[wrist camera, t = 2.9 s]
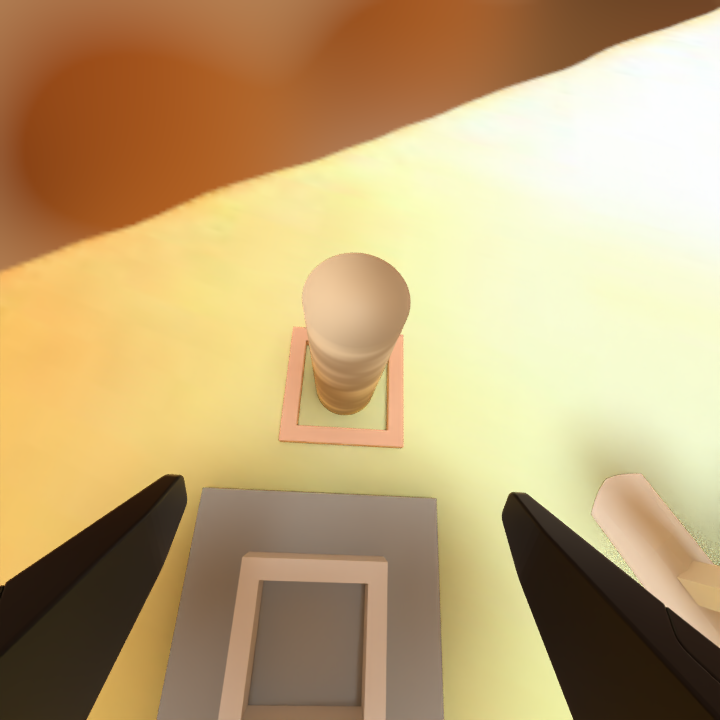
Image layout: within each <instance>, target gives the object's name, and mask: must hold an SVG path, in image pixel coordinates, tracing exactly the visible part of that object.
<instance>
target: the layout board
mask: <svg viewBox="0 0 720 720" xmlns="http://www.w3.org/2000/svg"><path fill="white" fill-rule="evenodd" d="M157 720H444V708H443V679H442V650H441V620H440V591H439V561H438V532H437V502H436V498H422V497H401V496H379V495H358V494H336V493H315V492H293V491H272V490H251V489H229V488H203V489H202V494H201V499H200V504H199V509H198V514H197V519H196V524H195V529H194V534H193V539H192V544H191V549H190V554H189V559H188V564H187V569H186V574H185V579H184V585H183V590H182V595H181V600H180V605H179V610H178V615H177V620H176V625H175V630H174V635H173V640H172V645H171V650H170V655H169V660H168V665H167V670H166V675H165V680H164V685H163V690H162V695H161V700H160V705H159V710H158V715H157Z"/></svg>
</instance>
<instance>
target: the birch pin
mask: <svg viewBox="0 0 720 720" xmlns="http://www.w3.org/2000/svg"><path fill="white" fill-rule="evenodd" d="M302 304H303V311H304V317H305V323H306V329H307V335H308V341H309V347H310V353H311V359H312V365H313V371H314V377H315V383H316V390H317V394H318V397H319V400H320V401H321V403H322V404H323V406H324V407H326V408H327V409H328V410H329V411H331V412H333V413H336V414H339V415H351V414H354V413H357V412H359V411H361V410H362V409H363V408H364V407H365V406H366V405H367V404H368V403H369V401H370V399H371V397H372V395H373V393H374V391H375V388H376V386H377V384H378V382H379V380H380V377H381V375H382V373H383V371H384V369H385V366H386V364H387V362H388V360H389V357H390V355H391V353H392V351H393V349H394V346H395V344H396V342H397V340H398V338H399V335H400V333H401V331H402V329H403V326H404V324H405V322H406V320H407V317H408V315H409V310H410V294H409V290H408V287H407V284H406V282H405V281H404V279H403V277H402V276H401V275H400V273H399V272H398V271H397V270H396V269H395V268H394V267H393V266H391V265H390V264H389V263H387V262H386V261H384V260H382V259H380V258H378V257H375V256H372V255H368V254H363V253H344V254H339V255H336V256H333V257H331V258H328V259H326V260H325V261H323V262H321V263H320V264H319V265H318V266H316V267H315V268H314V269H313V270H312V272H311V273H310V274H309V276H308V278H307V280H306V282H305V284H304V287H303V292H302Z"/></svg>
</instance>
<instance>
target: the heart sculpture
mask: <svg viewBox="0 0 720 720" xmlns="http://www.w3.org/2000/svg"><path fill="white" fill-rule="evenodd" d="M591 515H592V516H593V518H594V519H595V520H596V522H597V523H598V524H599V526H600V527H601V529H602V530H603V531H604V533H605V534H606V535H607V537H608V538H609V540H610V541H611V542H612V544H613V545H614V546H615V548H616V549H617V551H618V552H619V553H620V555H621V556H622V557H623V559H624V560H625V561H626V563H627V564H628V566H629V567H630V568H631V570H632V571H633V572H634V574H635V575H636V577H637V578H638V579H639V581H640V582H641V583H642V585H643V586H644V588H645V589H646V590H647V591H649V592H650V593H651V594H652V595H654V596H655V597H656V598H657V599H659V600H660V601H661V602H662V603H664V605H665V607H669V608H670V609H671V610H672V611H674V612H675V613H676V614H677V615H679V616H680V617H681V618H682V619H684V620H685V621H686V622H687V623H689V624H690V625H691V626H692V627H694V628H695V629H696V630H698V631H699V632H700V633H701V634H703V635H704V636H705V637H707V638H708V639H709V640H710V641H712V642H713V643H714V644H715V645H717V646H718V647H719V648H720V566H717V565H714V564H713V562H712V561H711V560H710V559H709V557H708V556H707V555H706V554H705V552H704V551H703V550H702V549H701V547H700V546H699V545H698V544H697V542H696V541H695V540H694V539H693V537H692V536H691V535H690V534H689V532H688V531H687V530H686V529H685V527H684V526H683V525H682V524H681V522H680V521H679V520H678V519H677V517H676V516H675V515H674V514H673V512H672V511H671V510H670V509H669V507H668V506H667V505H666V504H665V502H664V501H663V500H662V499H661V497H660V496H659V495H658V494H657V492H656V491H655V490H654V489H653V487H652V486H651V485H650V484H649V482H648V481H647V480H646V479H645V477H644V476H643V475H642V474H641V473H636V474H621V475H615V476H613V477H610V478H607V479H606V480H605V481H604V483H603V484H602V486H601V487H600V489H599V491H598V494H597V496H596V499H595V502H594V505H593V509H592V513H591Z"/></svg>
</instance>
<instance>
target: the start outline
mask: <svg viewBox="0 0 720 720" xmlns="http://www.w3.org/2000/svg"><path fill="white" fill-rule="evenodd" d="M307 345H309V341H308V335H307V329H306V327H293V333H292V341H291V348H290V356H289V364H288V372H287V379H286V387H285V395H284V402H283V410H282V418H281V426H280V433H279V441H280V442H298V443H316V444H335V445H353V446H371V447H389V448H402V447H403V335H399V338H398V340H397V342H396V344H395V346H394V349H393V351H392V353H391V355H390V357H389V360H388V370H387V430H372V429H355V428H338V427H321V426H304V425H298V418H299V409H300V400H301V391H302V382H303V373H304V364H305V355H306V346H307Z"/></svg>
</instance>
